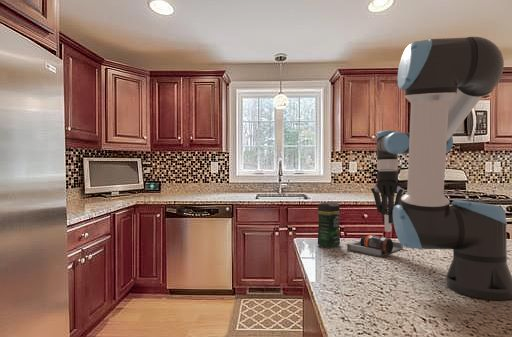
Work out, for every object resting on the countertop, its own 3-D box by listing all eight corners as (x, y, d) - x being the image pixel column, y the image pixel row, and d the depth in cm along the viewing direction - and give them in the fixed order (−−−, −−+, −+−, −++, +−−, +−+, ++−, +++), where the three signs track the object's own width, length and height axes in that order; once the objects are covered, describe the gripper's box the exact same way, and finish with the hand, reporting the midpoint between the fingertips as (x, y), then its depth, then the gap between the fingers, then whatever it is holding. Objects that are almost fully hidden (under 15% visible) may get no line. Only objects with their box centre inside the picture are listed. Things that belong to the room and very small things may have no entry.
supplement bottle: (389, 235, 118) (361, 230, 127) (384, 249, 116) (356, 244, 125) (395, 243, 121) (368, 238, 130) (390, 257, 119) (363, 251, 128)
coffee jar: (331, 249, 129) (330, 203, 130) (314, 246, 135) (314, 202, 135) (343, 245, 136) (342, 201, 136) (327, 242, 142) (326, 200, 142)
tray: (380, 257, 117) (380, 250, 117) (347, 250, 128) (347, 244, 128) (402, 248, 129) (402, 242, 129) (370, 243, 140) (370, 237, 140)
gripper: (408, 170, 122) (409, 232, 122) (376, 170, 132) (377, 228, 132) (399, 170, 117) (400, 235, 117) (366, 170, 127) (367, 230, 127)
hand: (388, 231), depth 124 cm, fingers closed
